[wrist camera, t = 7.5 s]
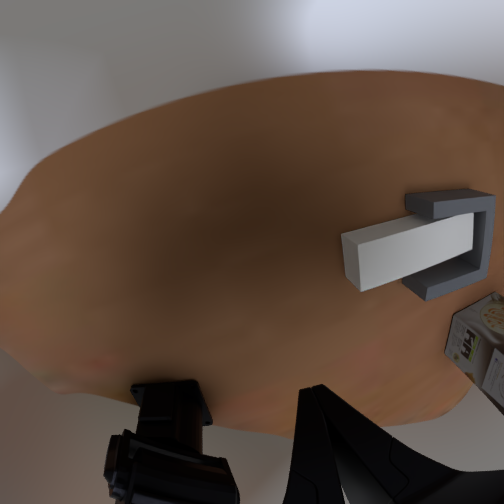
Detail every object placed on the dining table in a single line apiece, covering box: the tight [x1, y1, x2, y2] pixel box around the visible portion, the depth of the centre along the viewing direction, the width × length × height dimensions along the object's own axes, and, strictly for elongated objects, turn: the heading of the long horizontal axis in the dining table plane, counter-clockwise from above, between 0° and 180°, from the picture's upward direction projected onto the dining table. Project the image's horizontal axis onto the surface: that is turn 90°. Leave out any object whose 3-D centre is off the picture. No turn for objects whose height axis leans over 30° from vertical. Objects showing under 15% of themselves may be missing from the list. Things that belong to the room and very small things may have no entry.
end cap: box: [402, 189, 496, 301], centre depth 19 cm, size 8×8×4 cm
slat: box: [341, 213, 474, 292], centre depth 19 cm, size 4×12×3 cm, turn 103°
